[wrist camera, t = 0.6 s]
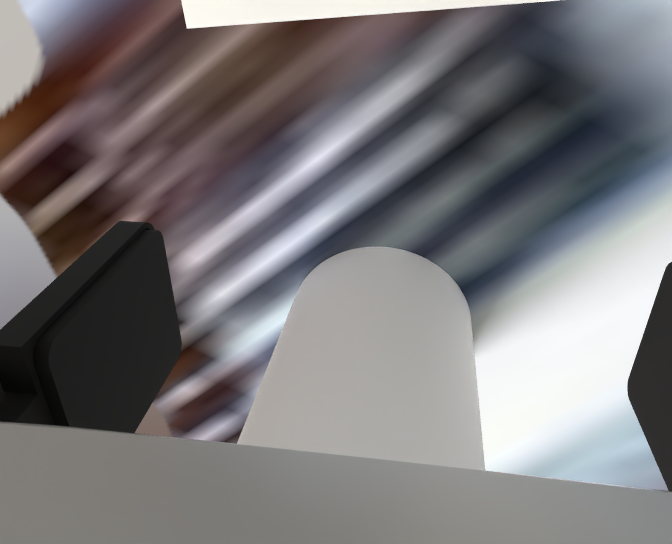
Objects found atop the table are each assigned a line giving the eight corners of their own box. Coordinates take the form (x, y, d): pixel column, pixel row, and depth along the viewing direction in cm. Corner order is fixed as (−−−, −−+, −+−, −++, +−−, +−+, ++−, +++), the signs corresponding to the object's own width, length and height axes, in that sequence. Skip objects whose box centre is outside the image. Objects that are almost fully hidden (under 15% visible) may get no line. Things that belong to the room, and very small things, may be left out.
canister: (407, 418, 47) (391, 688, 30) (264, 343, 46) (161, 583, 29) (509, 306, 40) (563, 572, 23) (345, 212, 39) (274, 426, 22)
